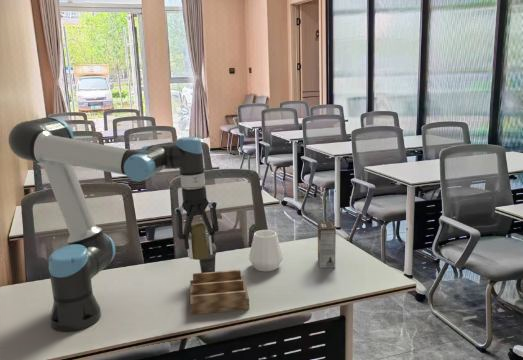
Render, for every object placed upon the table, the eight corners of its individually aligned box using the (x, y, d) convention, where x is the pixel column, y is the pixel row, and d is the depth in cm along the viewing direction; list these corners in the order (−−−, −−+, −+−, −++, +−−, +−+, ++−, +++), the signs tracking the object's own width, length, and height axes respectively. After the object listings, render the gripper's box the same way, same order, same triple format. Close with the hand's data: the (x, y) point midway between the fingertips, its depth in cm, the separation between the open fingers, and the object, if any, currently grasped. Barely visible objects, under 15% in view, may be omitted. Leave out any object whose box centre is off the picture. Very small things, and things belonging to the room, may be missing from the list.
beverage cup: (215, 283, 179) (212, 232, 175) (196, 282, 181) (192, 231, 176) (220, 275, 186) (217, 225, 182) (202, 274, 188) (199, 225, 183)
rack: (191, 314, 157) (189, 296, 156) (191, 290, 175) (189, 273, 173) (249, 308, 160) (248, 291, 158) (243, 285, 177) (243, 269, 176)
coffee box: (317, 259, 199) (317, 221, 195) (333, 258, 199) (333, 221, 195) (319, 268, 190) (319, 229, 186) (336, 267, 190) (336, 228, 186)
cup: (262, 257, 202) (261, 225, 199) (289, 264, 194) (288, 231, 191) (242, 268, 192) (240, 235, 188) (270, 276, 184) (269, 241, 181)
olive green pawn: (205, 260, 155) (202, 227, 152) (188, 259, 156) (184, 226, 154) (212, 252, 161) (209, 221, 158) (195, 252, 162) (191, 220, 160)
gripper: (167, 193, 146) (175, 266, 151) (226, 183, 154) (231, 252, 159) (160, 189, 153) (168, 258, 158) (217, 179, 161) (223, 245, 166)
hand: (200, 255), depth 158 cm, fingers closed on olive green pawn, 6 cm apart
